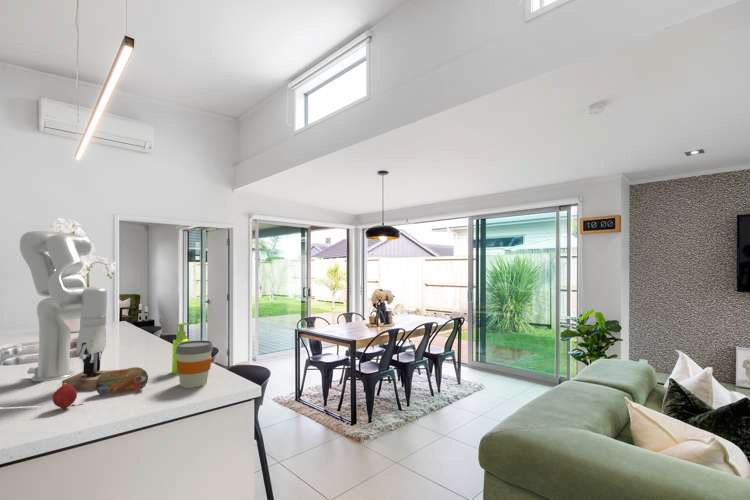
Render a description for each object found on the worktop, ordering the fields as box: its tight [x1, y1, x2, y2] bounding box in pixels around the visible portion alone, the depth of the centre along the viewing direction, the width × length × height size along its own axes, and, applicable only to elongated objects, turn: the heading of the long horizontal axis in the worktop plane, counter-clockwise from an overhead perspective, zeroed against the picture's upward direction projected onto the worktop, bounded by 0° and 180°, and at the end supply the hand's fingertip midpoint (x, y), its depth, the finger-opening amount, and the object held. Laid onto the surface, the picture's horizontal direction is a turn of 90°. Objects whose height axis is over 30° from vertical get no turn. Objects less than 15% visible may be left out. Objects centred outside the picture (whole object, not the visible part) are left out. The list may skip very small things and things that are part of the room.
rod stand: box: [61, 370, 112, 391], centre depth 138 cm, size 12×12×4 cm
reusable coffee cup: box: [176, 339, 214, 389], centre depth 142 cm, size 13×12×15 cm
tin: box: [96, 366, 149, 397], centre depth 131 cm, size 15×3×8 cm, turn 126°
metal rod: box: [86, 352, 98, 377], centre depth 138 cm, size 3×3×14 cm
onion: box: [51, 383, 78, 410], centre depth 117 cm, size 6×6×8 cm
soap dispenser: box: [171, 322, 191, 375], centre depth 159 cm, size 6×7×20 cm
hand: (91, 371), depth 138 cm, fingers closed on metal rod, 3 cm apart
